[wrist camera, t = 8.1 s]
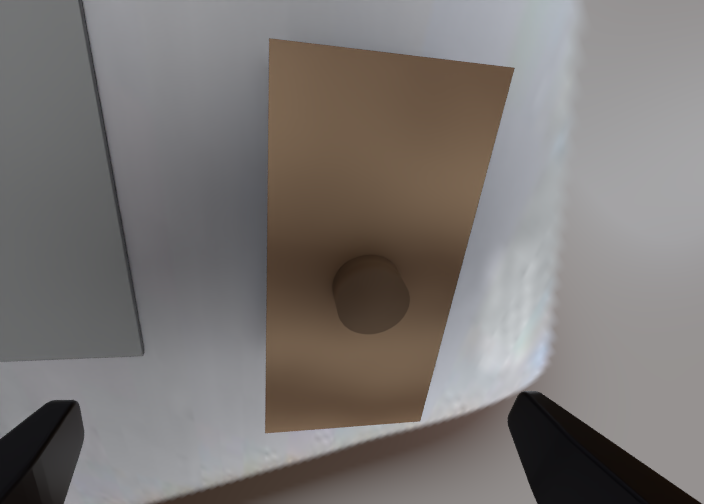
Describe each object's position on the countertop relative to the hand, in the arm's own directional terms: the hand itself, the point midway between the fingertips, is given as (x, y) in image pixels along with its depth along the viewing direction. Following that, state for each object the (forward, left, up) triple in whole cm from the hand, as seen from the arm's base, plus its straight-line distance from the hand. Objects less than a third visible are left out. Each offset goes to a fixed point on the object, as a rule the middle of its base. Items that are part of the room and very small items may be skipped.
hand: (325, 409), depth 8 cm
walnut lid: (+1, -2, -8) cm, 8 cm away
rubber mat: (-8, +9, -12) cm, 17 cm away
